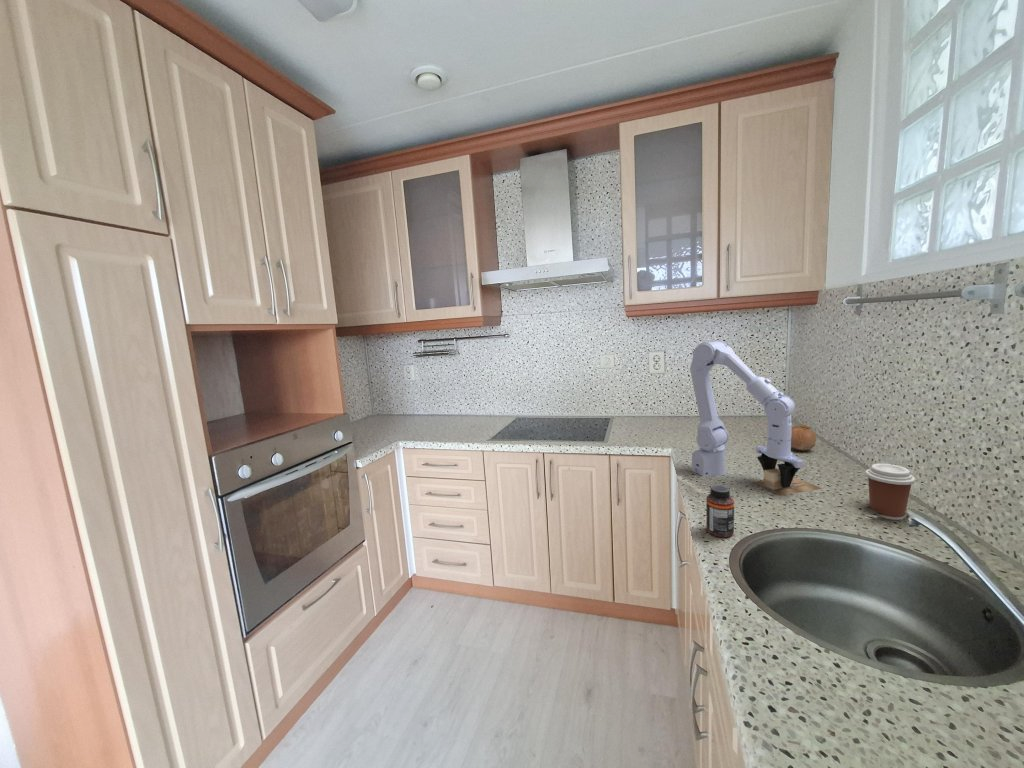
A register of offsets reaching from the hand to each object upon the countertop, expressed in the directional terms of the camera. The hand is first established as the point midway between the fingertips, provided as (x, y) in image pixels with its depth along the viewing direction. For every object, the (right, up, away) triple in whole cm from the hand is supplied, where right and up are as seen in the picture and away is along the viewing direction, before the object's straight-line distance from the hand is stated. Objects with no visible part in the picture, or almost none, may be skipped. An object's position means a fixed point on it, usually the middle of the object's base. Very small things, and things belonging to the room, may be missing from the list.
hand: (777, 483), depth 115 cm
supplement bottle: (-27, -7, -19) cm, 34 cm away
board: (+3, -2, +1) cm, 4 cm away
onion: (+30, +4, +33) cm, 45 cm away
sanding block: (0, -1, 0) cm, 1 cm away
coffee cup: (+17, -4, -16) cm, 23 cm away
